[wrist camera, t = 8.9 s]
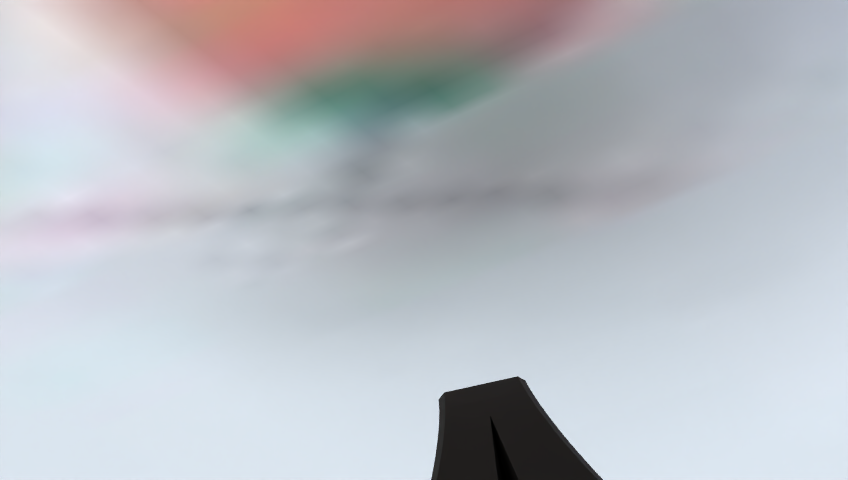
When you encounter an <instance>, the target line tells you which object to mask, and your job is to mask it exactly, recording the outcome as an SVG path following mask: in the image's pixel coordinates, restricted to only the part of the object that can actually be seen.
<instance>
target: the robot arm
mask: <svg viewBox="0 0 848 480" xmlns="http://www.w3.org/2000/svg"><path fill="white" fill-rule="evenodd" d="M439 409H440V414H439V433H438V442H437V450H436V457H435V463H434V468H433V473H432V479H431V480H603V479H602V478H601V477H600V476H599V475H598V474H597V473H596V472H595V471H594V470H593V469H592V468H591V466H590V465H589V464H588V463H587V462H586V461H585V460H584V458H583V457H582V456H581V455H580V454H579V453H578V452H577V451H576V449H575V448H574V447H573V446H572V445H571V444H570V443H569V441H568V440H567V439H566V438H565V437H564V435H563V434H562V433H561V432H560V430H559V429H558V428H557V427H556V425H555V424H554V423H553V421H552V420H551V419H550V418H549V416H548V415H547V414H546V412H545V411H544V409H543V408H542V407H541V405H540V404H539V402H538V401H537V399H536V398H535V396H534V395H533V393H532V392H531V390H530V388H529V387H528V385H527V383H526V381H525V380H523V379H521V378H520V377H513V378H508V379H504V380H499V381H495V382H490V383H486V384H481V385H477V386H472V387H468V388H463V389H458V390H454V391H449V392H445V393H444V394H443V395H442V396H441V397H440V399H439Z"/></svg>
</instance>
